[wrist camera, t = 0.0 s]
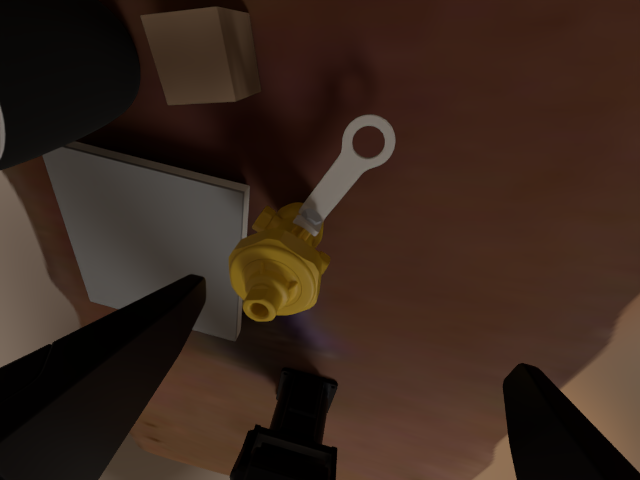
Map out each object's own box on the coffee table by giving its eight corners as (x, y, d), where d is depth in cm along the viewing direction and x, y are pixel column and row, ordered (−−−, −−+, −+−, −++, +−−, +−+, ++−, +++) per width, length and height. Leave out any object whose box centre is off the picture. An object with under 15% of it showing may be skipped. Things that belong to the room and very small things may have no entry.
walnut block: (261, 91, 19) (235, 101, 16) (203, 94, 20) (168, 105, 17) (249, 13, 17) (216, 6, 14) (185, 20, 18) (140, 15, 15)
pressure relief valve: (258, 218, 24) (192, 309, 16) (349, 80, 18) (318, 111, 10) (314, 256, 25) (280, 360, 17) (420, 137, 19) (447, 210, 11)
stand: (244, 323, 32) (235, 341, 30) (107, 285, 32) (90, 301, 30) (254, 180, 23) (242, 193, 21) (65, 132, 23) (37, 140, 21)
